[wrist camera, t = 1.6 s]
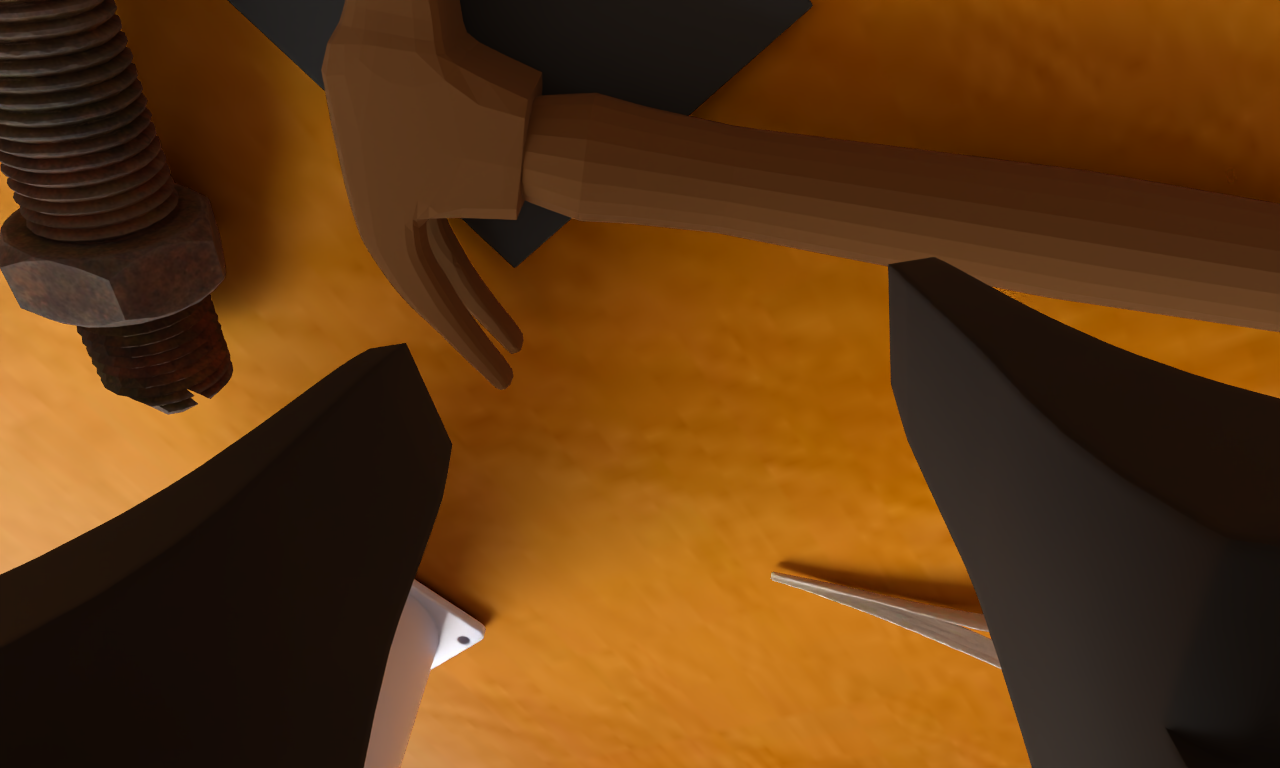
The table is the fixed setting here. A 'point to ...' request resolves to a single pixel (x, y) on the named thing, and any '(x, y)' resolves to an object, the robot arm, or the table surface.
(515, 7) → the mat
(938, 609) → the tweezers
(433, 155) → the hammer
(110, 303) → the bolt
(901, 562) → the table surface
